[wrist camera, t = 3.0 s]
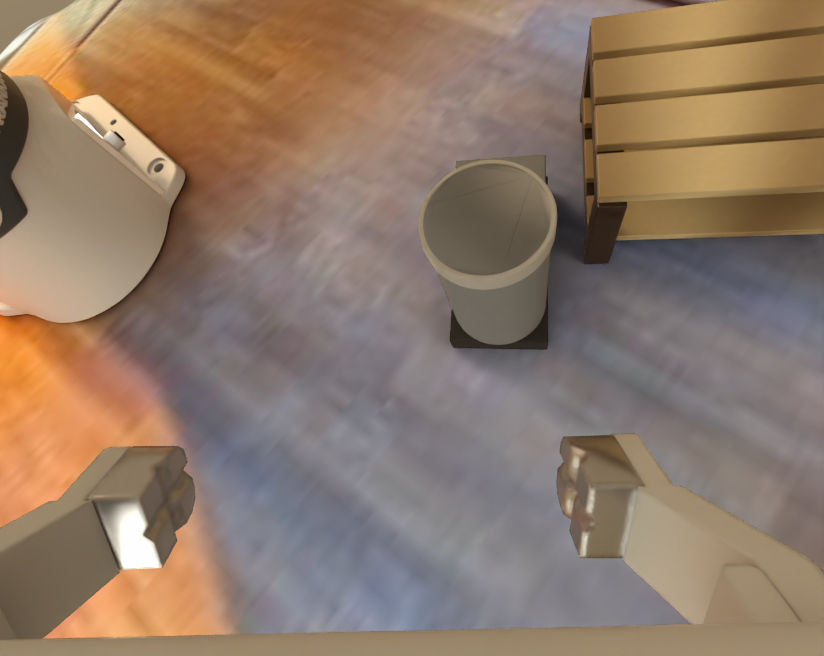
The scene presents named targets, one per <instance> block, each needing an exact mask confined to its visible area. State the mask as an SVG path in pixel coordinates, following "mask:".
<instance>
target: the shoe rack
mask: <svg viewBox="0 0 824 656" xmlns="http://www.w3.org/2000/svg"><path fill="white" fill-rule="evenodd" d="M580 122H581V123H582V138H583V172H584V207H585V241H584V263H585V264H607V263H608V262H609V259H610V256H611V254H612V251H613V247H614V244H615V242H616V240H646V239H678V238H709V237H740V236H771V235H803V234H824V0H724V1H717V2H709V3H702V4H694V5H687V6H680V7H672V8H665V9H657V10H650V11H642V12H635V13H628V14H620V15H613V16H605V17H598V18H592V21H591V26H590V32H589V40H588V48H587V55H586V63H585V71H584V79H583V86H582V94H581V102H580Z"/></svg>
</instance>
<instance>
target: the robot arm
mask: <svg viewBox="0 0 824 656" xmlns="http://www.w3.org/2000/svg"><path fill="white" fill-rule="evenodd" d="M184 181H185V172H184V170H183V169H182V168H181V167H180V166H179V165H178V164H176V163H175V162H174V161H173V160H172V159H171V158H170V157H169V156H168V155H167V154H165V153H164V152H163V151H162V150H161V149H160V148H159V147H158V146H157V145H156V144H154V143H153V142H152V141H151V140H150V139H149V138H148V137H147V136H146V135H145V134H144V133H142V132H141V131H140V130H139V129H138V128H137V127H136V126H135V125H134V124H133V123H131V122H130V121H129V120H128V119H127V118H126V117H125V116H124V115H123V114H122V113H120V112H119V111H118V110H117V109H116V108H115V107H114V106H113V105H112V104H110V103H109V102H108V101H107V100H105V99H104V98H103V97H101V96H100V95H91V96H87V97H84V98H81V99H78V100H75V101H73V102H70V101H69V100H68V99H67V98H66V97H65V96H63V95H62V94H61V93H60V92H59V91H57V90H56V89H55V88H54V87H53V86H51V85H50V84H49V83H48V82H47V81H45V80H44V79H43V78H41V77H39V76H33V75H25V76H8V75H6V74H5V73H3V72H2V71H0V315H3V316H14V315H22V314H31V315H34V316H37V317H39V318H41V319H44V320H47V321H50V322H56V323H71V322H77V321H81V320H85V319H88V318H91V317H93V316H96V315H98V314H100V313H102V312H104V311H106V310H107V309H109V308H111V307H112V306H114V305H115V304H117V303H118V302H119V301H121V300H122V299H123V298H124V297H125V296H127V295H128V294H129V293H130V292H131V291H132V290H133V289H134V288H135V287H136V286H137V285H138V284H139V282H140V281H141V280H142V279H143V278H144V276H145V275H146V274H147V272H148V271H149V269H150V268H151V266H152V265H153V263H154V261H155V259H156V258H157V256H158V254H159V251H160V249H161V247H162V244H163V241H164V238H165V235H166V230H167V225H168V219H169V214H170V210H171V206H172V204H173V203H174V201H175V199H176V197H177V196H178V194H179V192H180V190H181V188H182V186H183V184H184ZM560 454H561V457H562V459H563V461H564V463H563V464H562V465H561V466H560V467H559V468H558V470H557V481H556V482H557V495H558V499H559V503H560V506H561V509H562V512H563V514H564V515H565V516H567V517H568V518H569V519H570V520H571V523H570V534H571V536H572V539H573V541H574V544H575V547H576V549H577V552H578V554H579V557H580V558H623V561H624V562H625V563H626V564H628V565H629V566H630V567H631V568H632V569H633V570H634V571H635V572H636V573H637V574H638V575H639V576H640V577H641V578H643V579H644V580H645V581H646V582H647V583H648V584H649V585H650V586H651V587H652V588H653V589H654V590H655V591H657V592H658V593H659V594H660V595H661V596H662V597H663V598H664V599H665V600H666V601H667V602H668V603H669V604H671V605H672V606H673V607H674V608H675V609H676V610H677V611H678V612H679V613H680V614H681V615H682V616H683V617H685V618H686V619H687V620H688V621H689V622H690V623H691V624H689V625H644V626H600V627H557V628H510V629H462V630H414V631H369V632H324V633H279V634H235V635H189V636H144V637H99V638H54V639H43V638H44V637H45V636H46V635H47V634H49V633H50V632H51V631H52V630H53V629H54V628H56V627H57V626H58V625H59V624H60V623H61V622H63V621H64V620H65V619H66V618H67V617H68V616H70V615H71V614H72V613H73V612H74V611H75V610H76V609H78V608H79V607H80V606H81V605H82V604H83V603H85V602H86V601H87V600H88V599H89V598H90V597H92V596H93V595H94V594H95V593H96V592H97V591H99V590H100V589H101V588H102V587H103V586H104V585H106V584H107V583H108V582H109V581H110V580H111V579H113V578H114V577H115V576H116V575H117V574H118V573H119V572H120V571H119V570H129V569H148V568H163V566H164V564H165V562H166V560H167V558H168V557H169V555H170V553H171V551H172V549H173V547H174V546H175V544H176V542H177V538H176V534H175V531H176V530H178V529H179V528H181V527H182V526H183V525H185V524H186V523H187V521H188V519H189V517H190V515H191V513H192V511H193V506H194V502H195V486H194V482H193V478H192V477H191V476H189V475H188V474H187V473H186V472H185V471H184V470H183V469H184V467H185V466H186V464H187V462H188V461H187V458H186V455H185V452H184V449H182V448H181V447H179V446H134V447H109V448H107V449H104V450H103V451H102V452H101V453H100V454H99V455H98V456H97V457H96V459H95V460H94V461H93V462H92V463H91V464H90V465H89V466H88V467H87V469H86V470H85V471H84V472H83V473H82V474H81V475H80V476H79V477H78V478H77V480H76V481H75V482H74V483H73V484H72V485H71V486H70V487H69V488H68V490H67V491H66V492H65V493H64V494H63V495H62V496H61V497H60V498H59V500H58V501H49V502H47V503H45V504H44V505H42V506H40V507H38V508H36V509H34V510H32V511H31V512H29V513H27V514H25V515H23V516H21V517H19V518H18V519H16V520H14V521H12V522H10V523H8V524H7V525H5V526H3V527H1V528H0V656H824V573H823V572H822V571H821V570H820V568H819V567H818V566H817V565H816V564H815V563H814V562H813V561H812V560H811V559H809V558H807V557H806V556H804V555H802V554H800V553H798V552H797V551H795V550H793V549H791V548H790V547H788V546H786V545H784V544H783V543H781V542H779V541H777V540H776V539H774V538H772V537H770V536H769V535H767V534H765V533H763V532H762V531H760V530H758V529H756V528H755V527H753V526H751V525H749V524H748V523H746V522H744V521H742V520H741V519H739V518H737V517H735V516H734V515H732V514H730V513H728V512H727V511H725V510H723V509H721V508H720V507H718V506H716V505H714V504H713V503H711V502H709V501H707V500H706V499H704V498H702V497H700V496H699V495H697V494H695V493H693V492H692V491H690V490H688V489H686V488H685V487H683V486H674V485H673V484H672V482H671V481H670V479H669V478H668V477H667V475H666V474H665V472H664V471H663V469H662V468H661V467H660V465H659V464H658V462H657V461H656V460H655V458H654V457H653V455H652V454H651V452H650V451H649V450H648V448H647V447H646V445H645V444H644V443H643V441H642V440H641V438H640V437H639V436H638V435H637V434H635V433H627V434H611V435H599V436H567V437H563V438H562V441H561V445H560Z"/></svg>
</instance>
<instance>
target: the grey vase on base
mask: <svg viewBox="0 0 824 656" xmlns="http://www.w3.org/2000/svg"><path fill="white" fill-rule="evenodd" d="M556 226H557V207H556V203H555V199H554V197H553V194H552V192H551V190H550V189H549V187H548V178H547V176H546V156H545V155H533V156H520V157H506V158H493V159H479V160H465V161H457V162H456V169H455V170H453V171H452V172H450V173H449V174H447V175H446V176H445V177H443V178H442V179H441V180H440V181H439V182H438V183H437V184H436V185H435V186H434V187H433V188H432V190H431V191H430V192H429V194H428V195H427V197H426V199H425V201H424V203H423V205H422V208H421V211H420V215H419V221H418V230H419V237H420V241H421V244H422V247H423V249H424V251H425V253H426V256H427V258H428V260H429V262H430V263H431V265H432V266H433V267H434V268H435V270H436V271H437V273H438V276H439V278H440V280H441V283H442V285H443V288H444V290H445V292H446V295H447V297H448V300H449V302H450V304H451V307H452V313H451V330H450V342H451V344H452V346H453V347H454V348H492V349H547V345H548V274H549V262H550V251H551V248H552V245H553V243H554V239H555V235H556Z"/></svg>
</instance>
